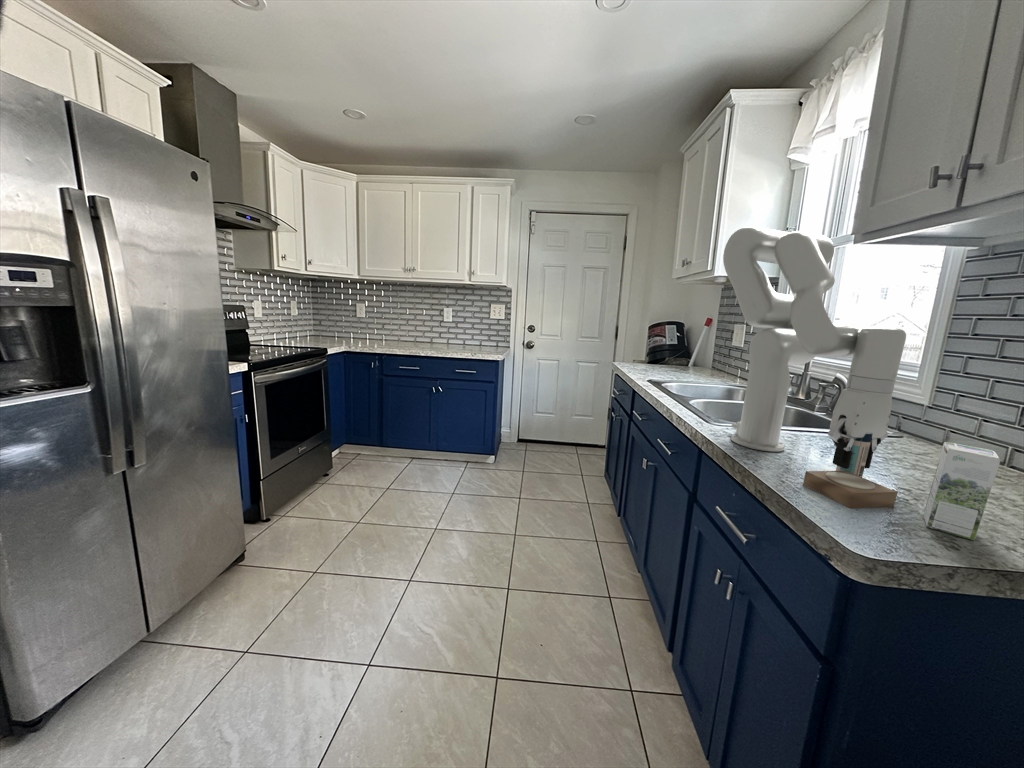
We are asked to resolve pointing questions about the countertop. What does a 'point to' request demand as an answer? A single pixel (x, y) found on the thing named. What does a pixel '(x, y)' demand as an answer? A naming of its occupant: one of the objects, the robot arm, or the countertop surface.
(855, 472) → the beer can
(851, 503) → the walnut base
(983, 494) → the syrup box
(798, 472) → the countertop surface
